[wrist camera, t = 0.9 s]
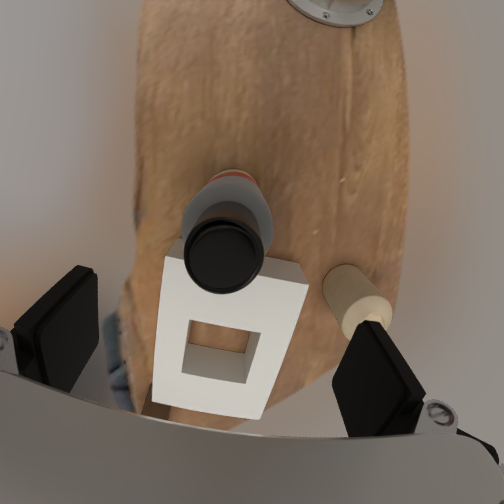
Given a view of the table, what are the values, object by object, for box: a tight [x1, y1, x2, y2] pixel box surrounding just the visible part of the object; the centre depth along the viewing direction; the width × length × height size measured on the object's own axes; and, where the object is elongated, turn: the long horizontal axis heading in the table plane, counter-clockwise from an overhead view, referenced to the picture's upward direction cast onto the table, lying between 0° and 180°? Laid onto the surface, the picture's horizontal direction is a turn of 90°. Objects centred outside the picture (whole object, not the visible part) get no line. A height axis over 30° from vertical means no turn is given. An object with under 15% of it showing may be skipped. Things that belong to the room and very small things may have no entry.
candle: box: [322, 264, 392, 340], centre depth 32 cm, size 6×6×10 cm
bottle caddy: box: [152, 238, 309, 420], centre depth 35 cm, size 20×14×6 cm
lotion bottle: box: [181, 169, 274, 294], centre depth 23 cm, size 6×6×20 cm
